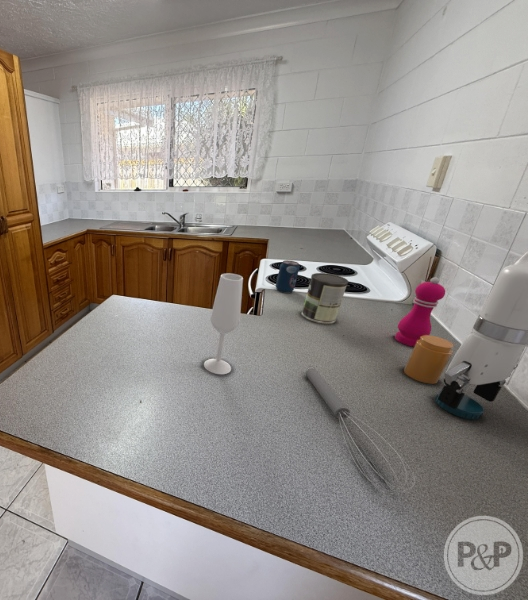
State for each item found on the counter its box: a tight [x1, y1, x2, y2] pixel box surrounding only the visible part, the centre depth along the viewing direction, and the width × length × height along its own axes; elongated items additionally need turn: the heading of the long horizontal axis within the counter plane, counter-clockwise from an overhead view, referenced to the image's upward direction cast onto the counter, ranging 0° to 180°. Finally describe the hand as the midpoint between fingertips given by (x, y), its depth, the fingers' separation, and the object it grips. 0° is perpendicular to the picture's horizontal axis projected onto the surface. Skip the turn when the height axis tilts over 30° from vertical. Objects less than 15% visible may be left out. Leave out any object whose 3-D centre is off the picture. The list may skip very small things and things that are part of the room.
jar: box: [403, 335, 454, 385], centre depth 75 cm, size 6×6×10 cm
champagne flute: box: [203, 273, 244, 375], centre depth 74 cm, size 7×7×24 cm
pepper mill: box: [394, 276, 446, 347], centre depth 88 cm, size 7×7×20 cm
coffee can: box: [301, 272, 349, 325], centre depth 103 cm, size 10×10×14 cm
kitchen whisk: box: [305, 365, 416, 497], centre depth 61 cm, size 6×34×6 cm, turn 173°
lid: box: [435, 391, 485, 420], centre depth 66 cm, size 7×7×2 cm
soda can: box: [275, 259, 300, 294], centre depth 126 cm, size 7×7×12 cm
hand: (464, 400), depth 66 cm, fingers open, 9 cm apart
